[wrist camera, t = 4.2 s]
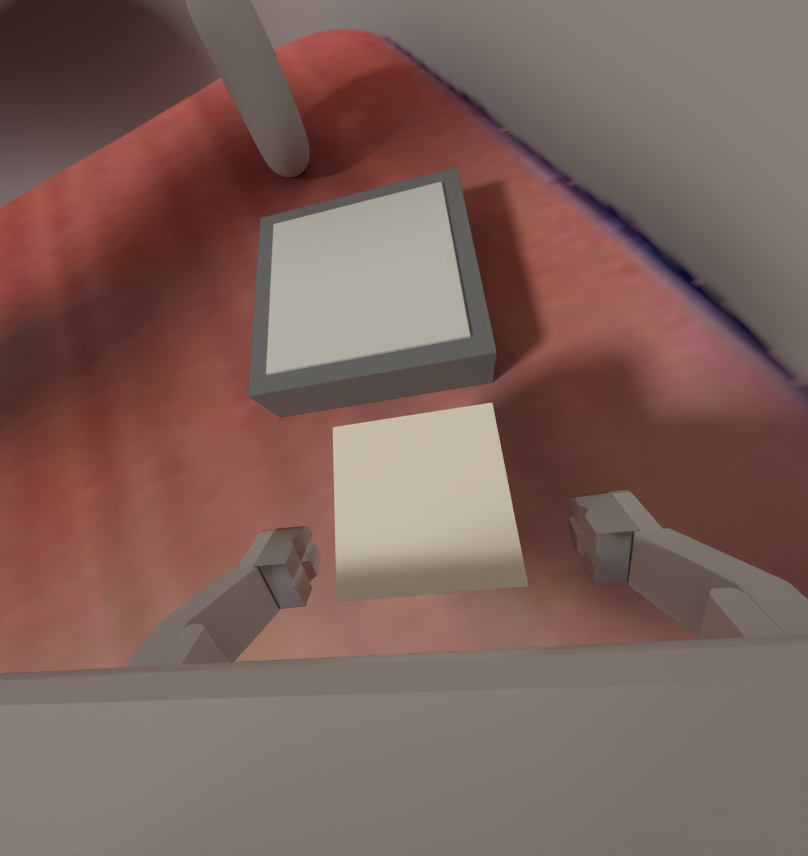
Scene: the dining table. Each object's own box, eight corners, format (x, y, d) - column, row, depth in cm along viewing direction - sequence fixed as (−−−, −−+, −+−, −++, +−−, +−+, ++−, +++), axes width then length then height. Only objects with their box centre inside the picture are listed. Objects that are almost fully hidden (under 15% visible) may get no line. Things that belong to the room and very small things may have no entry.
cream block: (400, 573, 16) (336, 601, 8) (392, 477, 17) (332, 427, 10) (500, 565, 15) (528, 586, 8) (482, 466, 17) (492, 402, 9)
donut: (334, 193, 25) (252, -19, 15) (292, 215, 25) (185, 18, 15) (294, 123, 28) (207, -82, 19) (257, 143, 28) (153, -52, 19)
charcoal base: (280, 417, 19) (246, 395, 17) (285, 256, 24) (259, 216, 21) (492, 382, 18) (496, 350, 15) (459, 215, 22) (457, 164, 19)
